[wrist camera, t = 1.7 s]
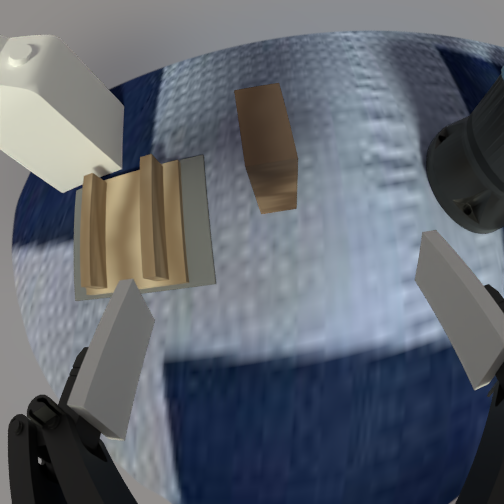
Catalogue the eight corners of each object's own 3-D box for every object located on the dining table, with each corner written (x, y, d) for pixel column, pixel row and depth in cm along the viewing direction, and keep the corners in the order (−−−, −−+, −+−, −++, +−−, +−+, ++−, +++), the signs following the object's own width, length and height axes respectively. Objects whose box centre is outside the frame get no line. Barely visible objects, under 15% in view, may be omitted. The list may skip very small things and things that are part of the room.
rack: (180, 163, 36) (167, 146, 31) (189, 282, 33) (174, 278, 28) (91, 188, 37) (72, 176, 33) (91, 295, 34) (69, 292, 30)
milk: (69, 131, 41) (-28, 47, 16) (124, 106, 40) (33, -6, 15) (62, 192, 38) (-65, 117, 13) (122, 168, 37) (-9, 53, 12)
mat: (203, 155, 36) (203, 154, 36) (216, 283, 33) (215, 283, 32) (77, 191, 38) (76, 190, 38) (76, 300, 35) (75, 300, 34)
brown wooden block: (284, 147, 35) (278, 82, 23) (296, 208, 33) (297, 158, 21) (251, 153, 35) (234, 90, 23) (261, 214, 34) (245, 166, 22)
